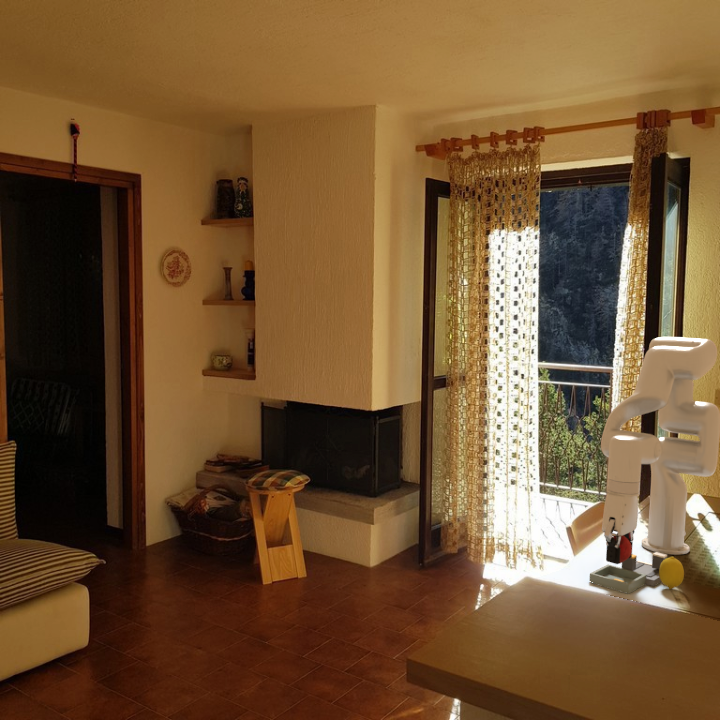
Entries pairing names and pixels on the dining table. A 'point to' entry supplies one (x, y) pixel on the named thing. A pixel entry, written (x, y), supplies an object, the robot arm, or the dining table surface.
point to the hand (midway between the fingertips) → (618, 558)
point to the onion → (624, 548)
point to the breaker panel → (648, 573)
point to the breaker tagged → (630, 563)
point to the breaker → (658, 559)
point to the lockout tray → (618, 578)
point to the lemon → (671, 572)
